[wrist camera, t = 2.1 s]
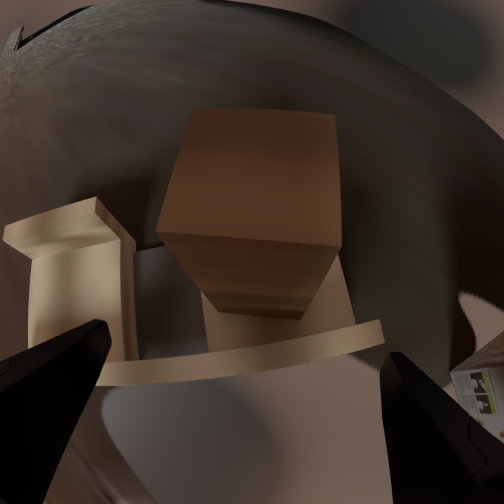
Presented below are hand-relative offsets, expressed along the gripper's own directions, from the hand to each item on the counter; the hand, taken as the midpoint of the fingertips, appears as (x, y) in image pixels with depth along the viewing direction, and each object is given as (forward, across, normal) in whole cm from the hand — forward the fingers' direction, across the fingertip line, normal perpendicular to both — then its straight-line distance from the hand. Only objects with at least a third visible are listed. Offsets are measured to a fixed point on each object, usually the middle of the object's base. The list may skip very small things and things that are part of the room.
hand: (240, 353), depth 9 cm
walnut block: (+10, 0, +3) cm, 10 cm away
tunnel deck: (+11, +7, +6) cm, 14 cm away
